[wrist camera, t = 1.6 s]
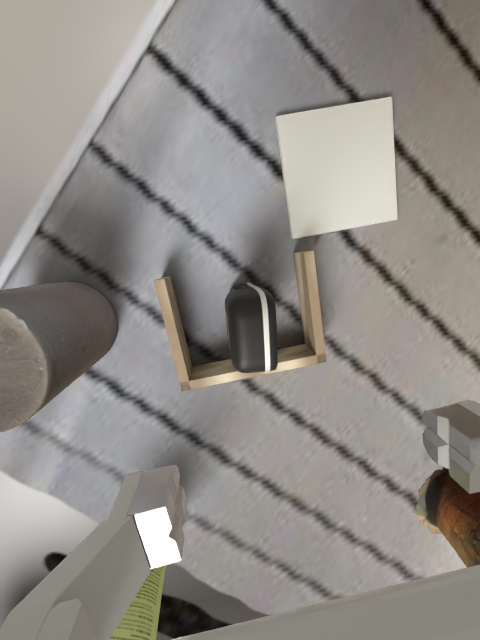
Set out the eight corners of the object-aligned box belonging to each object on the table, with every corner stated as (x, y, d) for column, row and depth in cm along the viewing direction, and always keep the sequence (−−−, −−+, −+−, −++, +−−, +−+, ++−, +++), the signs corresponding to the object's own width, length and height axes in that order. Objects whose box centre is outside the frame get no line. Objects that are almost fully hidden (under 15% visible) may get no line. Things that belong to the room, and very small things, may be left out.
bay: (301, 251, 31) (313, 250, 28) (314, 349, 34) (326, 361, 30) (161, 277, 31) (153, 280, 27) (185, 375, 34) (181, 391, 30)
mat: (388, 99, 29) (391, 96, 28) (394, 220, 32) (397, 219, 31) (275, 118, 28) (276, 115, 28) (291, 239, 31) (292, 239, 31)
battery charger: (222, 282, 32) (225, 297, 20) (255, 280, 32) (276, 293, 21) (227, 341, 33) (232, 384, 22) (258, 338, 33) (279, 379, 22)
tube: (142, 541, 39) (69, 817, 20) (124, 514, 37) (28, 781, 18) (179, 525, 38) (143, 787, 19) (162, 498, 37) (106, 749, 18)
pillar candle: (92, 378, 33) (-6, 474, 18) (11, 335, 31) (-170, 402, 16) (134, 311, 32) (67, 355, 17) (53, 261, 30) (-102, 263, 15)
